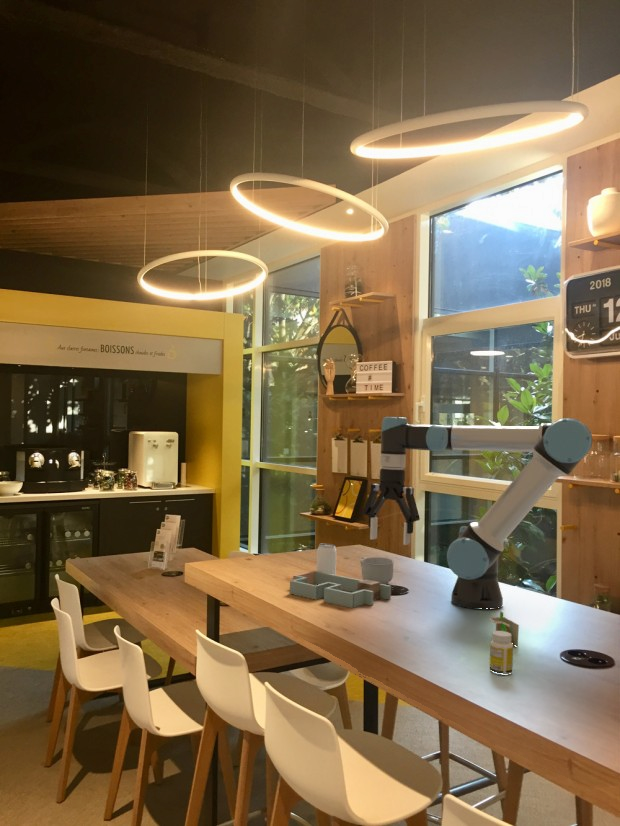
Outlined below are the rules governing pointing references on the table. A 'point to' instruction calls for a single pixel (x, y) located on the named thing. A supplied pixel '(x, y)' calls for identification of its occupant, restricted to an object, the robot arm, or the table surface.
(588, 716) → the table surface
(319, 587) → the box
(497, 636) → the supplement bottle
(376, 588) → the block
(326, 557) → the can
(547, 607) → the table surface
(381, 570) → the teacup
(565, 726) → the table surface
